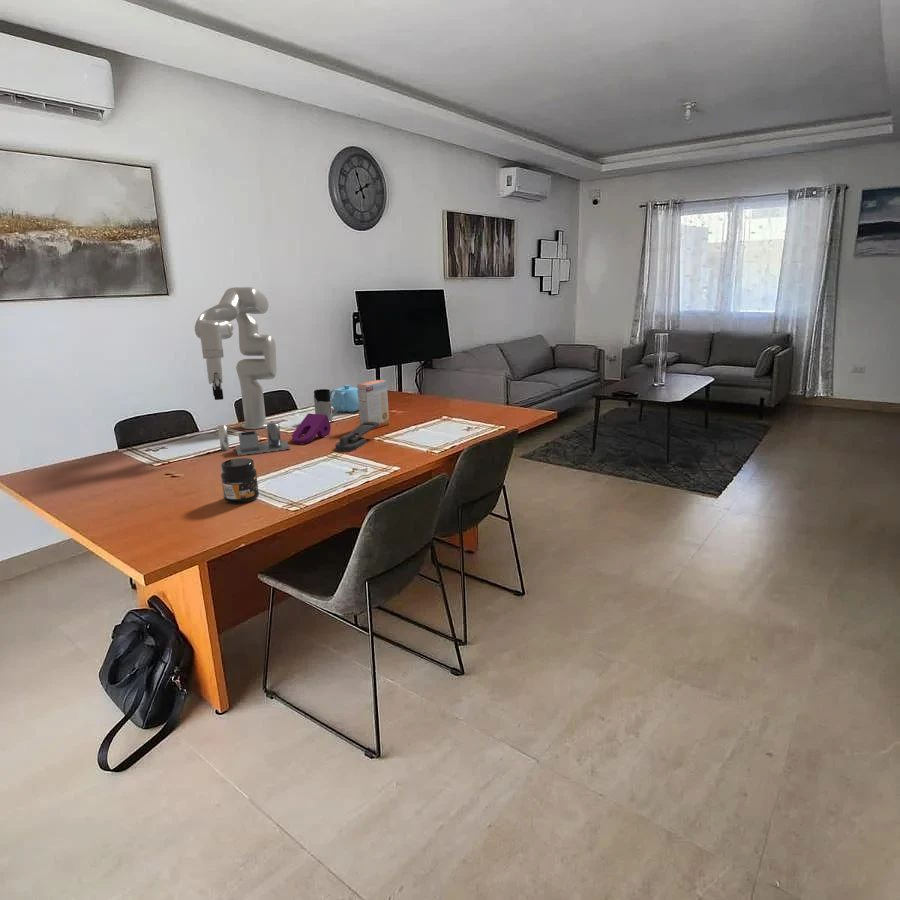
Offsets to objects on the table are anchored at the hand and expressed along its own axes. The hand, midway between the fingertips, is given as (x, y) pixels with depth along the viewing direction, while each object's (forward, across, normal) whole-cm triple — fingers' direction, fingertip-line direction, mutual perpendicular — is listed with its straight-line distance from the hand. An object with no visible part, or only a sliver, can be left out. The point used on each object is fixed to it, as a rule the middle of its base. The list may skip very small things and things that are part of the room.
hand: (218, 397), depth 236 cm
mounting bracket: (+22, -2, +35) cm, 41 cm away
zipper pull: (+22, +15, +52) cm, 58 cm away
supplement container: (+22, +63, +1) cm, 67 cm away
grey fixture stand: (+22, +6, +14) cm, 26 cm away
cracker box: (+22, -10, +66) cm, 70 cm away
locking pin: (+22, 0, 0) cm, 22 cm away
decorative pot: (+21, -51, +64) cm, 85 cm away
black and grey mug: (+21, -32, +50) cm, 63 cm away
